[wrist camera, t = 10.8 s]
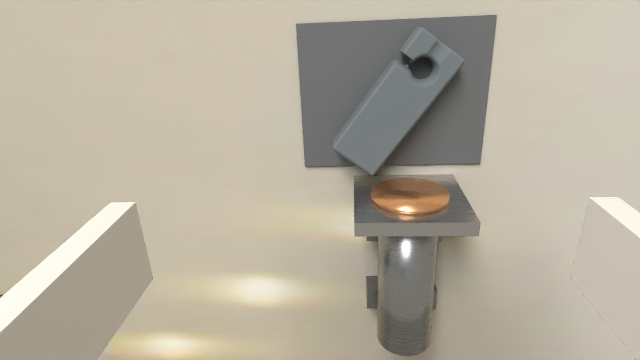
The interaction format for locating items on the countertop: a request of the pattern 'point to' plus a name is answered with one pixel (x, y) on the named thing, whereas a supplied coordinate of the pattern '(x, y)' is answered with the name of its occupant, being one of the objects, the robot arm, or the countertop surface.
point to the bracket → (396, 103)
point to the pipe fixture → (408, 249)
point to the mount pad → (367, 66)
